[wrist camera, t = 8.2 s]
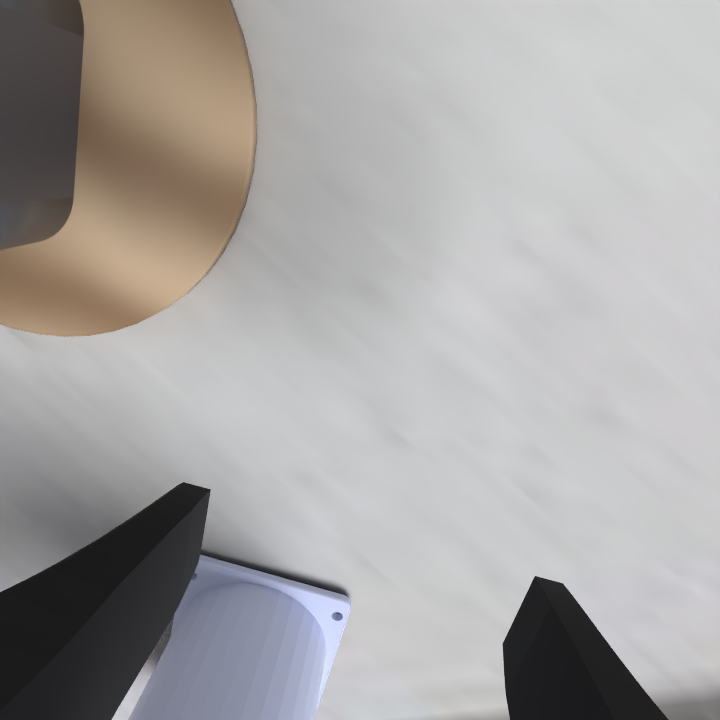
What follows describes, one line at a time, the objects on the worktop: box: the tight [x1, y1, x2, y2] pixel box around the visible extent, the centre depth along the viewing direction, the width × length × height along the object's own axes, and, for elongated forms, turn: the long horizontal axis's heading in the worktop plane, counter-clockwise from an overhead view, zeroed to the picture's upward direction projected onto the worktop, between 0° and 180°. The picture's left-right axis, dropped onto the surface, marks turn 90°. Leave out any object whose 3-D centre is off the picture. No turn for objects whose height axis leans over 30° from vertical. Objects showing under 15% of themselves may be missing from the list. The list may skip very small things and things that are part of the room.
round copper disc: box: [0, 0, 257, 336], centre depth 18 cm, size 16×16×1 cm
